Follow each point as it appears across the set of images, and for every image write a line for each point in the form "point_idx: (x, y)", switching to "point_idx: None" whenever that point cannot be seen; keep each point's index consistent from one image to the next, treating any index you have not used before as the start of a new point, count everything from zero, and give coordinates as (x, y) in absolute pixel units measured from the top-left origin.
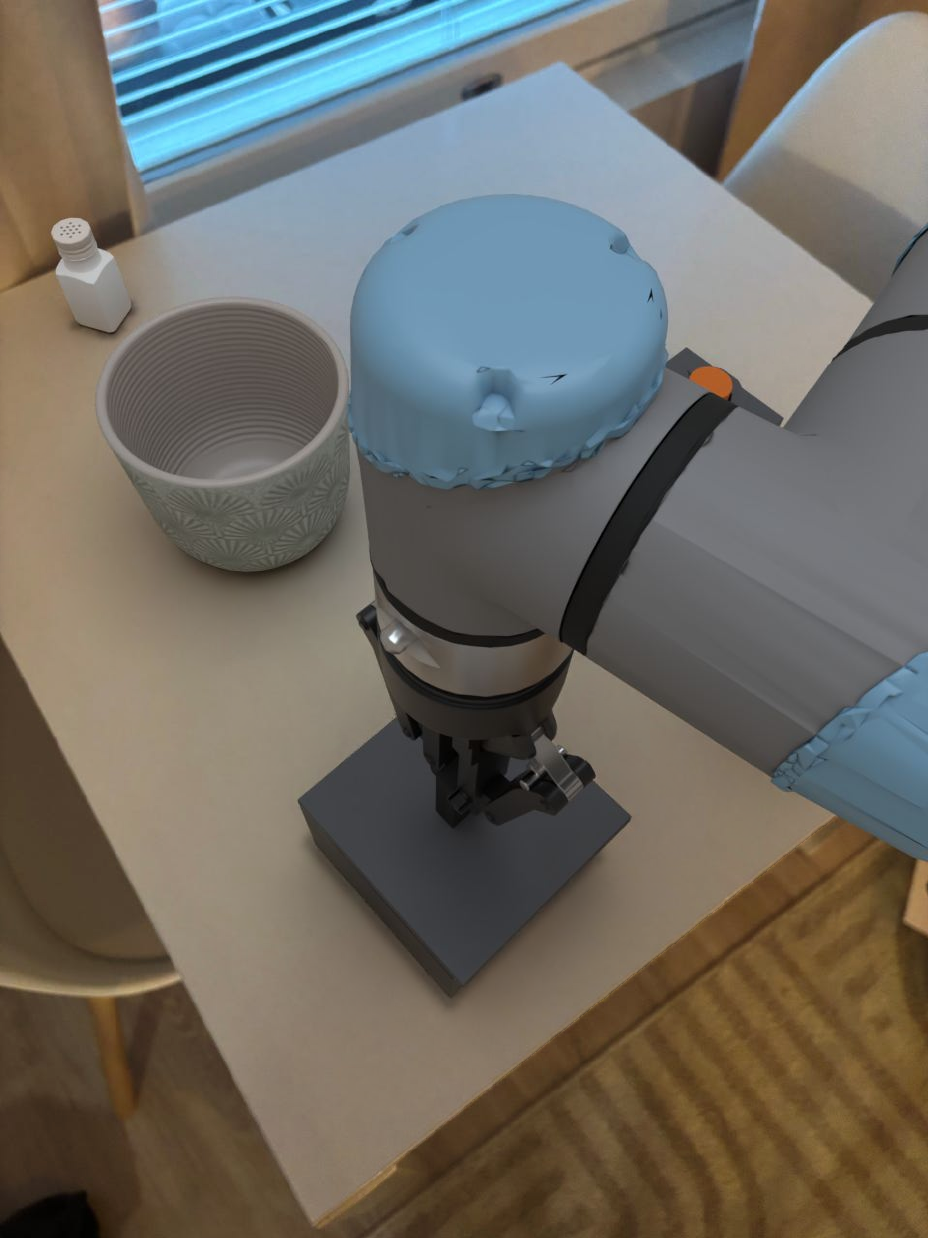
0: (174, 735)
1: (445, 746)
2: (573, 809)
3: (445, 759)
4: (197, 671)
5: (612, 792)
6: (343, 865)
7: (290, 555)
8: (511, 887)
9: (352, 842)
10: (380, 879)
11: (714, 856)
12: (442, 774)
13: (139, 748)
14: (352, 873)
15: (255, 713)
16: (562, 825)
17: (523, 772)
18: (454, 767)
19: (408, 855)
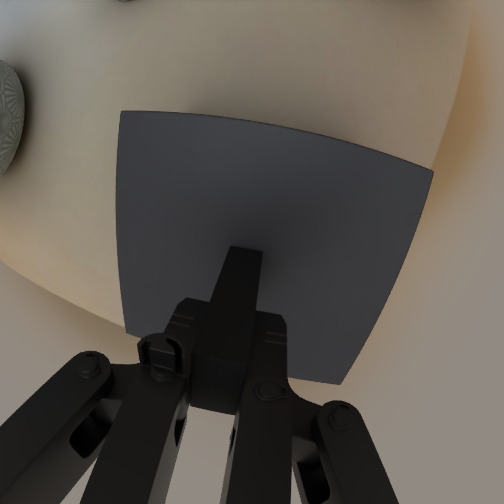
0: (68, 260)
1: (167, 482)
2: (369, 201)
3: (182, 419)
4: (45, 221)
5: (341, 88)
6: None
7: (8, 137)
8: (344, 315)
9: None
10: None
11: (431, 100)
12: (198, 403)
13: (66, 276)
14: None
15: (80, 219)
16: (366, 228)
17: (337, 489)
18: (203, 392)
19: None
